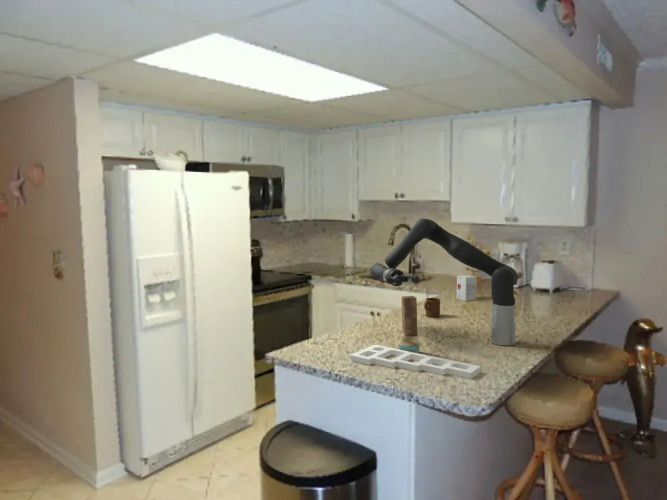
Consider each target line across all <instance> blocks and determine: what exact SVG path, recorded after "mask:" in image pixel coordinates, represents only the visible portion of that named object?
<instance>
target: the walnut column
mask: <svg viewBox="0 0 667 500" xmlns="http://www.w3.org/2000/svg"><path fill="white" fill-rule="evenodd" d="M417 302H418V301H417V297H416V296H415V295H405V296H401V317H402V318H401V319H402V321H401V322H402V324H401V325H402V327H401V328H402V332H403V334H404V335H405V336H409V335H418V336H419V334H418V308H417V306H418V305H417V304H418V303H417Z"/></svg>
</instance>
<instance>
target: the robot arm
mask: <svg viewBox="0 0 667 500" xmlns="http://www.w3.org/2000/svg"><path fill="white" fill-rule="evenodd" d="M424 239H426V240H429V241H431V242H433V243H435V244H437V245H438V246H440V247H442V248H443V249H444V251H446V253H448V255H450V257H452V258H454V259H455V260H457V261H458V262H460V263H462V264H463V265H465V266H468V267H470V268H473V269H476V270H479V271H481V272H483V273H485V274H486V275H488V276H490V277H491V282H490V283H491V298H492V309H491V310H492V316H491V336H490V337H491V343H492V344H495V345H498V346H512V345H513V346H515V345H516V322H515V318H516V317H515V315H516V314H515V313H516V298H515V295H514V292H515V291H514V290H515V288H514V286H515V285H516V284H517V283H518V280H519V276H518V273H517V271H516V269H515V268H513V267H511V266H509V265H507V264H505V263H502V262H501V261H499V260H496V259H494V258H493V257H491V256H489V255H488V254H487V253H485V251H482V250H480V249H479V248H478V247H476V246H475V245H473V244H472V243H470V242H468V241H466V240H464V239H462V238H461V237H459V236H457V235H455V234H452V233H451V232H449V231H448V230H446V229H444V228H443V227H442V226H441V225H439V224H438V223H436V222H435V220H432V219H429V218H421V219H420V218H419V219H418V220H417V221H416V222H415V223H414V224H413V226H412V228H411V229H410V230H409V232H408V233H407V234H406V236H404V238H403V239H402V240H401V242H400V243H399V244H398V245H397V246H396V247H395V248H394V249H393V250H392V251H391V252H390V253H388V255H387V256H386V257H385V259H384V263H385V264H386V265H384V264H383V263H380V262H377V263H374V264H372V266H371V267H370V269H369V271H370V272H369V273H370V275H371V276H372V277H373V278H375V279H376V280H378V281H379V282H380V283H382V284H384V283H385V284H389V285H391V286H393V287H400V286H402V285H404V284H411V283H414V284H418V283H420V282H419V280H420V279H419V275H414V274H405V273H404V272H403V271H402V270H400V269H397V268H398V267H399V266H400V265H401V264H402V262H404V261H405V260H406V259H407V257H408V255H409V254H410V253H411V251H412V249H413V248H414V247H415V246H416V245H418V243H420V242H421V241H422V240H424Z"/></svg>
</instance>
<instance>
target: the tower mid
mask: <svg viewBox="0 0 667 500" xmlns="http://www.w3.org/2000/svg"><path fill="white" fill-rule="evenodd" d="M400 336H401V337H400V338H401V339H400V340H401V343H402V346H418V344H419V342H420V341H419V340H420V339H419V334H418V335H409V336H405V335H404V334H403V331H401V335H400ZM401 343H400V344H401Z"/></svg>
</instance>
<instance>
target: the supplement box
mask: <svg viewBox="0 0 667 500" xmlns="http://www.w3.org/2000/svg"><path fill="white" fill-rule="evenodd" d="M477 283H478V278H477V276H474V275H470V274H466V275H465V274H464V275H457V276H456V300H460V301H463V302H468V301H469V302H470V301H476V300H477Z"/></svg>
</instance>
